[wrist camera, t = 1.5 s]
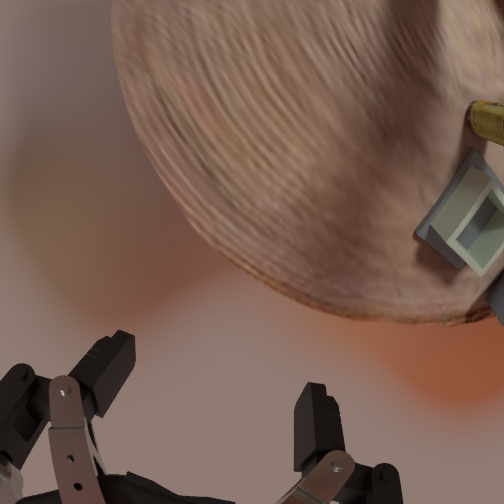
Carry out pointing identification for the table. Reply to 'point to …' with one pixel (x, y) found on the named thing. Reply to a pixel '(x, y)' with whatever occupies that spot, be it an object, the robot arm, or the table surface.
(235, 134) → the table surface
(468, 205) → the bottle jig
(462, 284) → the table surface
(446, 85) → the table surface
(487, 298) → the bluetooth speaker
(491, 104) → the sauce bottle
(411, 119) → the table surface
